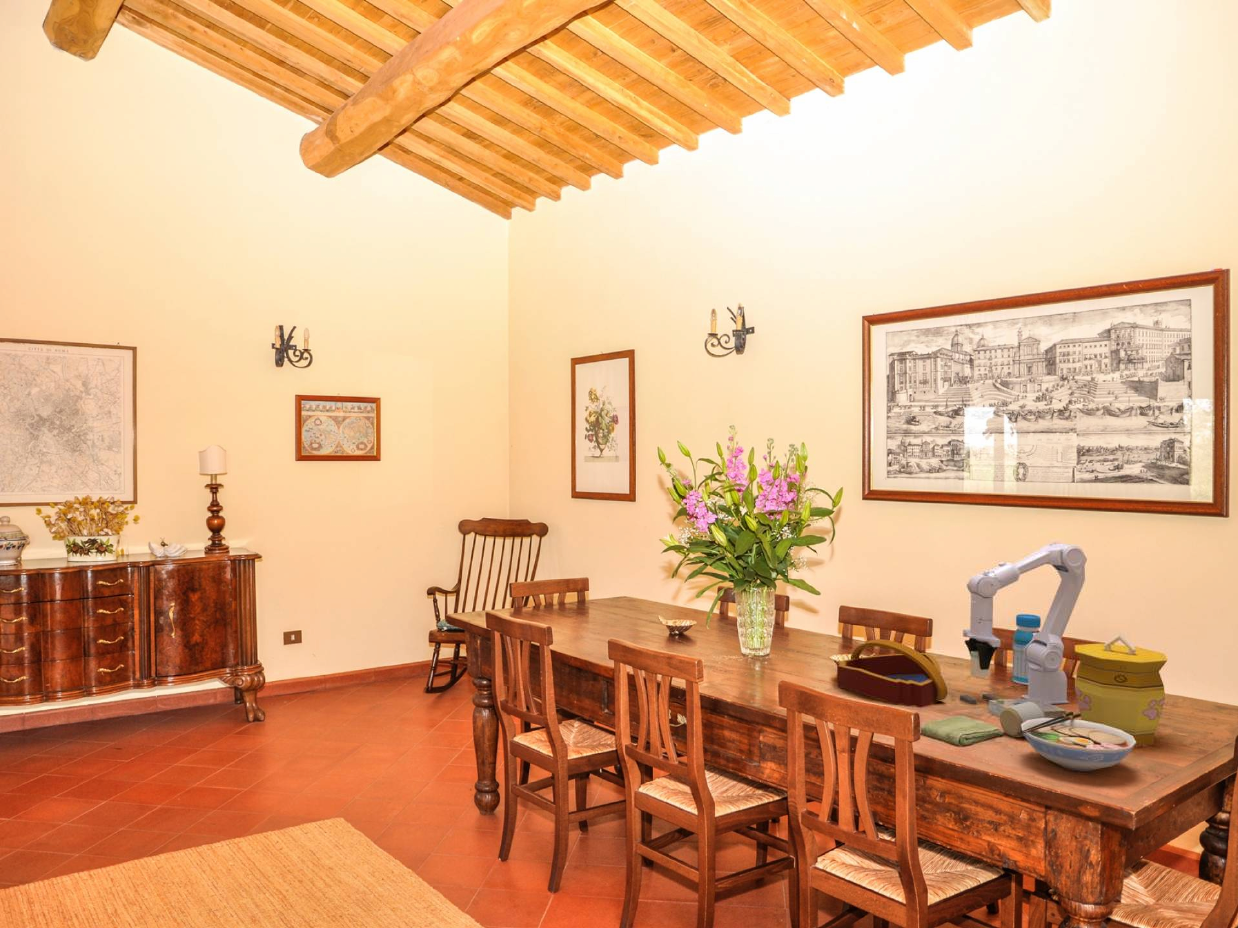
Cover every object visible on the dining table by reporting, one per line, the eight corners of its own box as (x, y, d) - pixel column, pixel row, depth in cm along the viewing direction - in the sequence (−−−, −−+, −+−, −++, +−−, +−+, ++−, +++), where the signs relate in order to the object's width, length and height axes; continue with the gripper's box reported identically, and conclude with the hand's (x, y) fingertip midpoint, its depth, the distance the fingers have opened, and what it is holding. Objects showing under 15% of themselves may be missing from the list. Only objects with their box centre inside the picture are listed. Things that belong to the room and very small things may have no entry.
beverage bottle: (1013, 684, 275) (1014, 617, 275) (1010, 677, 283) (1011, 612, 283) (1044, 686, 273) (1045, 619, 272) (1040, 680, 281) (1041, 614, 281)
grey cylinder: (996, 732, 227) (997, 701, 227) (1020, 728, 231) (1021, 698, 231) (1032, 746, 218) (1033, 713, 218) (1056, 741, 221) (1058, 709, 221)
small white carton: (983, 673, 258) (983, 650, 257) (990, 676, 255) (990, 652, 255) (970, 674, 257) (970, 651, 257) (976, 677, 254) (977, 653, 254)
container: (1090, 718, 241) (1092, 622, 240) (1181, 738, 225) (1183, 635, 224) (1054, 734, 227) (1056, 632, 226) (1148, 756, 211) (1151, 647, 210)
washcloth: (1006, 737, 225) (1006, 724, 225) (961, 749, 215) (961, 735, 215) (960, 723, 236) (960, 711, 236) (914, 734, 226) (914, 721, 226)
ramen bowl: (1099, 793, 187) (1100, 753, 187) (996, 761, 206) (996, 724, 206) (1157, 770, 202) (1158, 732, 202) (1056, 742, 220) (1056, 707, 220)
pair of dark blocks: (988, 698, 259) (989, 693, 259) (999, 703, 254) (999, 698, 254) (959, 699, 257) (960, 695, 257) (970, 704, 252) (970, 700, 252)
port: (1035, 709, 248) (1035, 695, 248) (1065, 722, 236) (1066, 708, 236) (988, 712, 245) (988, 698, 245) (1017, 725, 233) (1017, 710, 233)
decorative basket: (817, 689, 275) (813, 640, 274) (891, 666, 288) (887, 619, 287) (900, 722, 245) (895, 667, 244) (978, 694, 258) (974, 641, 257)
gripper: (953, 614, 262) (952, 662, 262) (984, 623, 247) (983, 674, 248) (976, 613, 263) (975, 661, 263) (1007, 623, 249) (1006, 673, 249)
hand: (980, 667), depth 256 cm, fingers closed on small white carton, 3 cm apart
